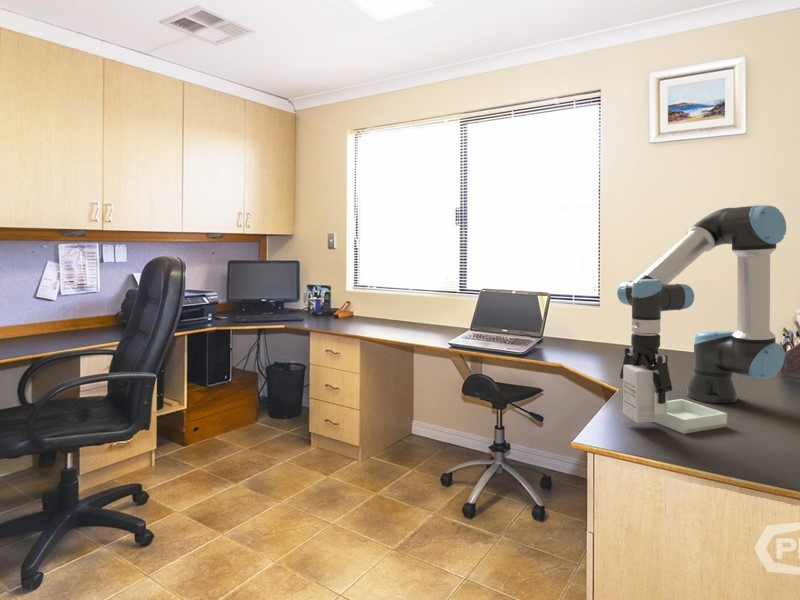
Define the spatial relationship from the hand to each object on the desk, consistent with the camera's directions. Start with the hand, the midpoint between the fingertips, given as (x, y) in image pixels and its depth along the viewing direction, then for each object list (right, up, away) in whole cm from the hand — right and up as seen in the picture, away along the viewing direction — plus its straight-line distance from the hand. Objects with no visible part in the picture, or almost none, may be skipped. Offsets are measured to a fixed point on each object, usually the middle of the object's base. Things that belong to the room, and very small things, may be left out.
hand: (644, 408), depth 155 cm
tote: (+14, -5, +5) cm, 16 cm away
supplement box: (0, -3, 0) cm, 3 cm away
